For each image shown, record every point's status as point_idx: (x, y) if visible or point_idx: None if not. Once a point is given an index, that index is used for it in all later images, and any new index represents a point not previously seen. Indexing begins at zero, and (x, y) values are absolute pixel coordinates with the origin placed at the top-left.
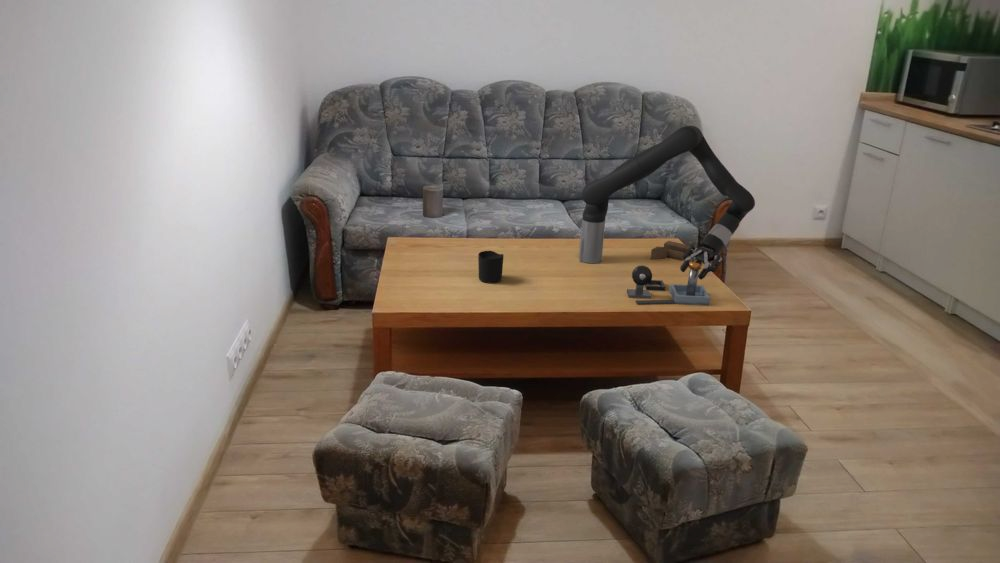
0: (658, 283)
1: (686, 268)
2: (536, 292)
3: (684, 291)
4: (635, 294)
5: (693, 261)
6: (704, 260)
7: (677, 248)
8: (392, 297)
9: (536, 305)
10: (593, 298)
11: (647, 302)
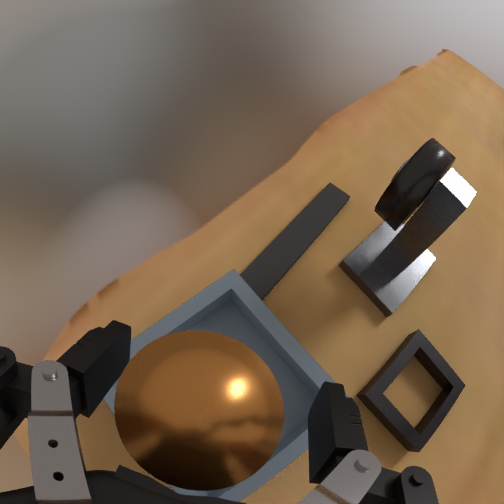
0: (418, 429)
1: (310, 442)
2: (477, 136)
3: None
4: (386, 232)
5: (236, 422)
6: (72, 433)
7: None
8: (481, 74)
9: (425, 92)
10: None
11: (312, 205)
